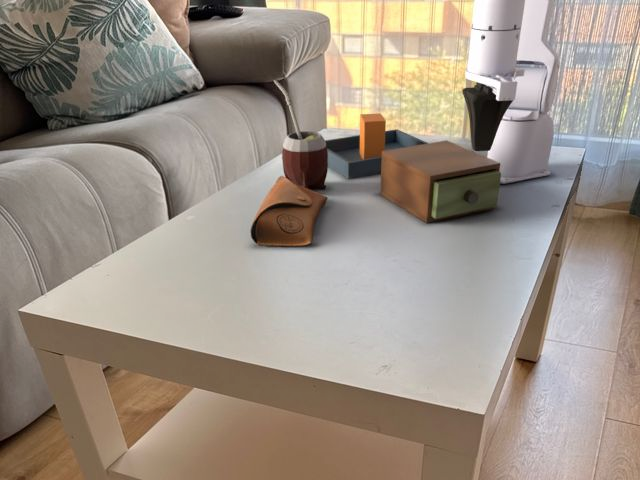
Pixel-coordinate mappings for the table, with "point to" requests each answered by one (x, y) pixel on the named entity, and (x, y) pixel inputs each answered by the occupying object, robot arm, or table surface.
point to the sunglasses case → (287, 215)
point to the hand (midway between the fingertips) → (481, 149)
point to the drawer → (465, 193)
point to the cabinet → (427, 174)
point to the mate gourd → (304, 155)
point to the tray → (348, 156)
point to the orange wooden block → (372, 135)
